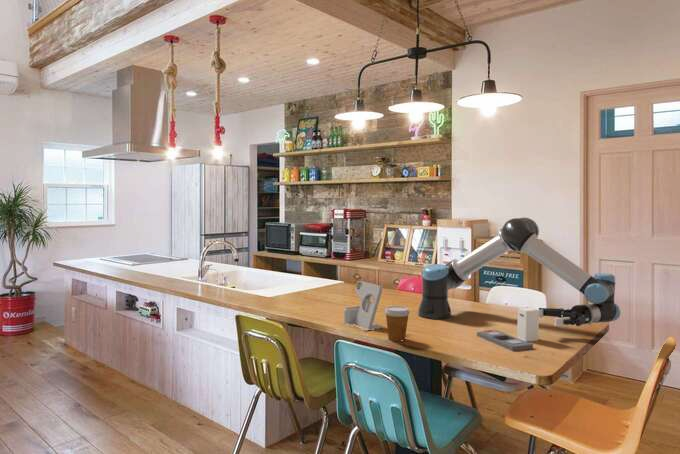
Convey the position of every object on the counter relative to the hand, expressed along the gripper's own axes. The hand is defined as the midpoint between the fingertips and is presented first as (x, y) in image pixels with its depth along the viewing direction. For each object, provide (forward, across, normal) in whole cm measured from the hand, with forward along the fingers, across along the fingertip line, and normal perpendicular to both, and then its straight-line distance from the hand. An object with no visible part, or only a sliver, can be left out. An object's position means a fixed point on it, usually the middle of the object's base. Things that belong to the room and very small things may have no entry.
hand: (541, 318), depth 184 cm
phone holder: (+56, +44, -10) cm, 71 cm away
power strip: (+17, 0, -9) cm, 19 cm away
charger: (+6, 0, -9) cm, 11 cm away
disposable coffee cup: (+51, +20, -9) cm, 56 cm away
